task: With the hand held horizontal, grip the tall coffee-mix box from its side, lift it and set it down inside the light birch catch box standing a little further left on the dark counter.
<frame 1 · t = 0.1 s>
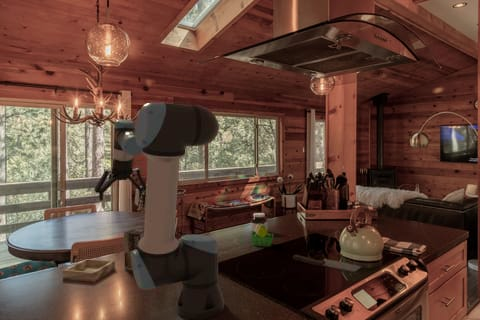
hand: (120, 205, 140), 28 cm above the kitchen counter, tool tilted 20°, fingers open, 13 cm apart
cleaver: (325, 264, 146), on the kitchen counter
coffee box: (137, 268, 143), on the kitchen counter
spread jar: (260, 234, 198), on the kitchen counter
catch box: (89, 274, 137), on the kitchen counter
fruit basket: (262, 245, 175), on the kitchen counter
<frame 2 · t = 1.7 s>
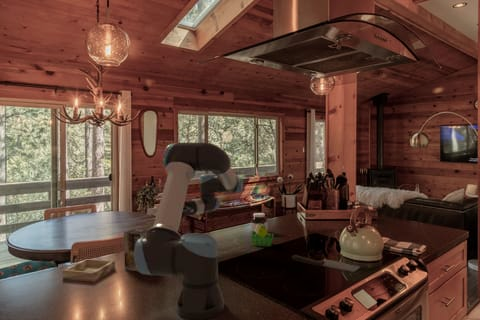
hand: (155, 214, 149), 22 cm above the kitchen counter, tool horizontal, fingers open, 13 cm apart
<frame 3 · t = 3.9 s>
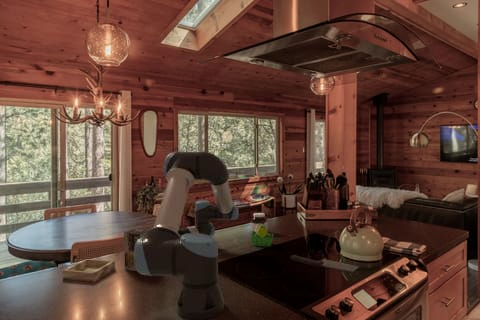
hand: (148, 244, 148), 9 cm above the kitchen counter, tool horizontal, fingers open, 13 cm apart
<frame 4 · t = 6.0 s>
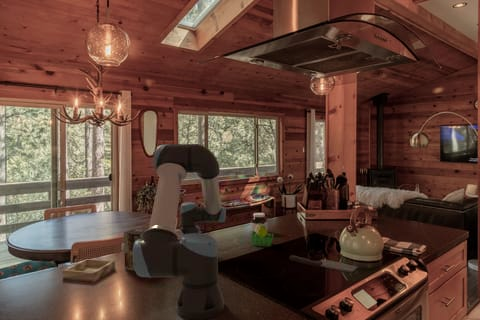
hand: (128, 249, 140), 9 cm above the kitchen counter, tool horizontal, fingers closed on coffee box, 10 cm apart
coffee box: (137, 268, 143), on the kitchen counter, touching gripper
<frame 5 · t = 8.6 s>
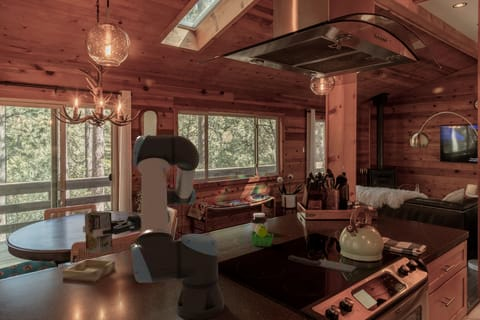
hand: (88, 231, 136), 18 cm above the kitchen counter, tool horizontal, fingers closed on coffee box, 10 cm apart
coffee box: (99, 251, 139), point 9 cm above the kitchen counter, touching gripper
when the fingers open (11 cm above the kitchen counter, at t = 11.1 s): coffee box drops 1 cm, resting on catch box.
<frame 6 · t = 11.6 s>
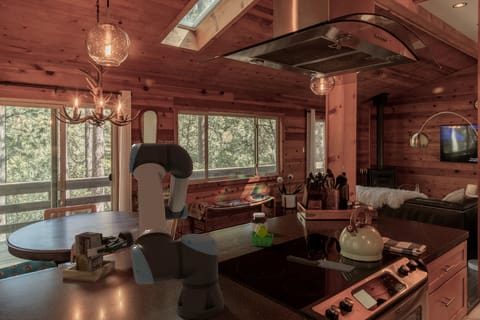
hand: (80, 249, 135), 11 cm above the kitchen counter, tool horizontal, fingers open, 13 cm apart
coffee box: (90, 273, 137), resting on catch box
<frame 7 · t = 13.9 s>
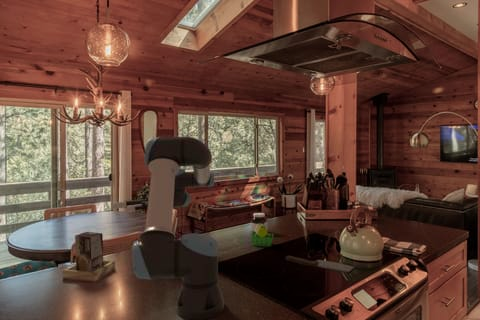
hand: (119, 207, 144), 26 cm above the kitchen counter, tool horizontal, fingers open, 13 cm apart
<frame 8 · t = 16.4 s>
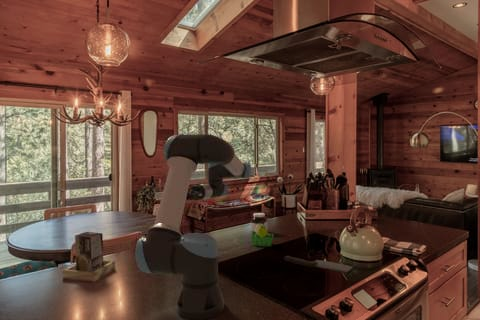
hand: (163, 197, 147), 30 cm above the kitchen counter, tool horizontal, fingers open, 13 cm apart
at the end: coffee box 0.1 cm from the catch box (horizontally); coffee box resting on catch box; the gripper is holding nothing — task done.
